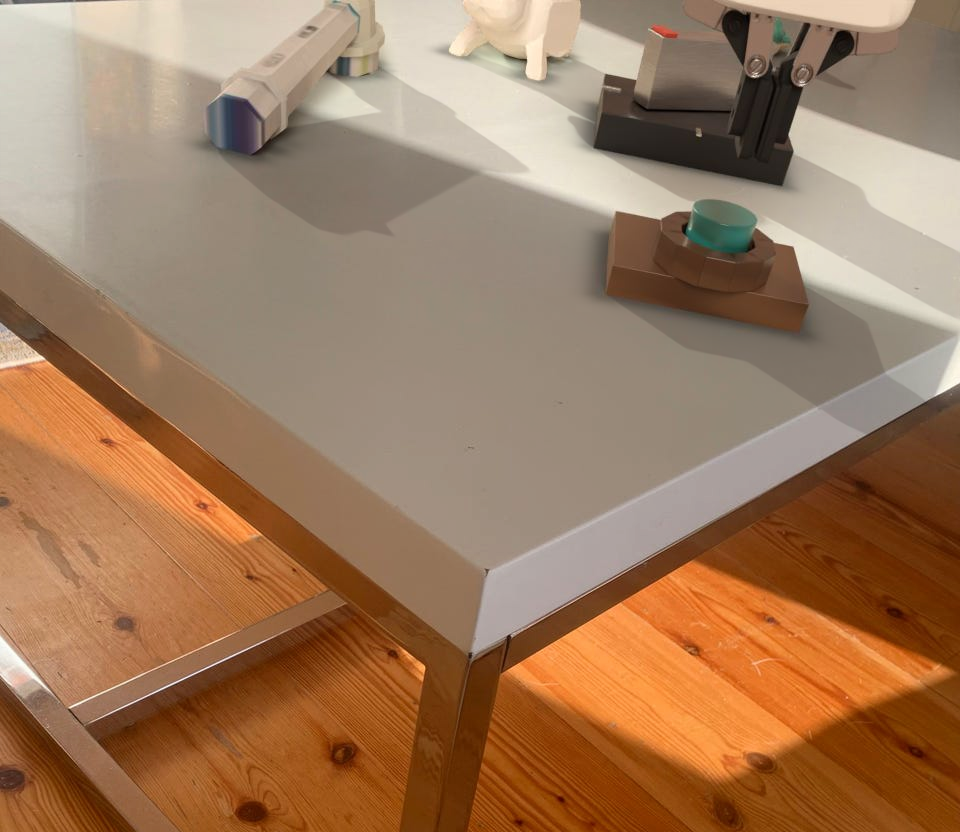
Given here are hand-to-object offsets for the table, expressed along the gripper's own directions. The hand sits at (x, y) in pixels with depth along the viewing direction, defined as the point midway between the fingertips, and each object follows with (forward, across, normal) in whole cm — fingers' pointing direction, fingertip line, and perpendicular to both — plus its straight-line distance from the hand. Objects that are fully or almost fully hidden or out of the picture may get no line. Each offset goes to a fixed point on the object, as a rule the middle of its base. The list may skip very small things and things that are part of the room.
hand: (750, 151), depth 60 cm
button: (+5, 0, 0) cm, 5 cm away
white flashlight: (+9, -28, +19) cm, 35 cm away
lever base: (+9, 0, +26) cm, 28 cm away
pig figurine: (+9, -16, +39) cm, 43 cm away
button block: (+9, 0, +1) cm, 9 cm away
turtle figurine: (+10, +8, +63) cm, 65 cm away
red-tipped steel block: (+6, 0, +27) cm, 28 cm away
